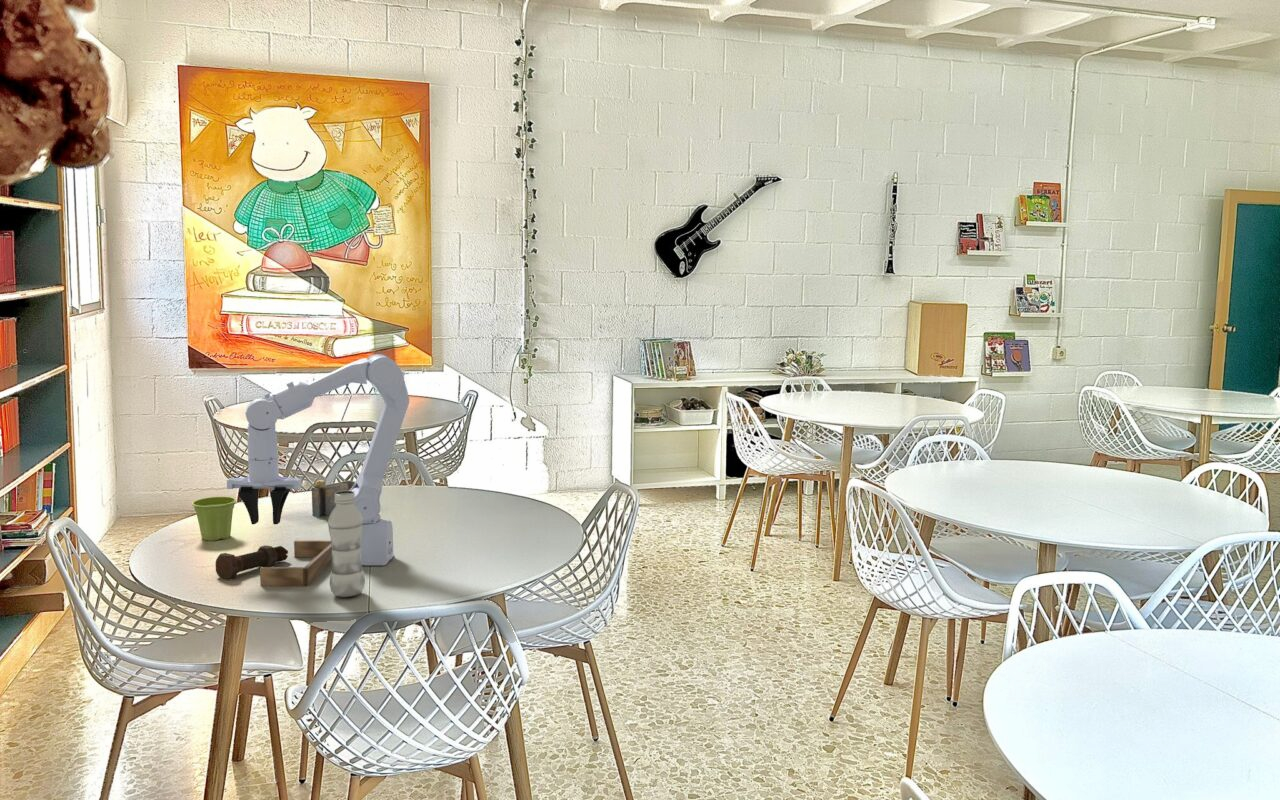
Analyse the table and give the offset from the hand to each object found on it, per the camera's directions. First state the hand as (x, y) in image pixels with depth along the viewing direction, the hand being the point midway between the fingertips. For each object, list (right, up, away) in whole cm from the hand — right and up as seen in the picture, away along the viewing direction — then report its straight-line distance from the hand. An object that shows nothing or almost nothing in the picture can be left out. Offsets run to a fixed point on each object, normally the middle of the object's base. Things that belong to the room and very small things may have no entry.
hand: (265, 523), depth 206 cm
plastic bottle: (+21, -12, -14) cm, 28 cm away
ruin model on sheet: (-1, -4, +51) cm, 51 cm away
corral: (+6, -10, +1) cm, 12 cm away
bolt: (-3, -10, +2) cm, 11 cm away
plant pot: (-21, -7, +26) cm, 34 cm away
